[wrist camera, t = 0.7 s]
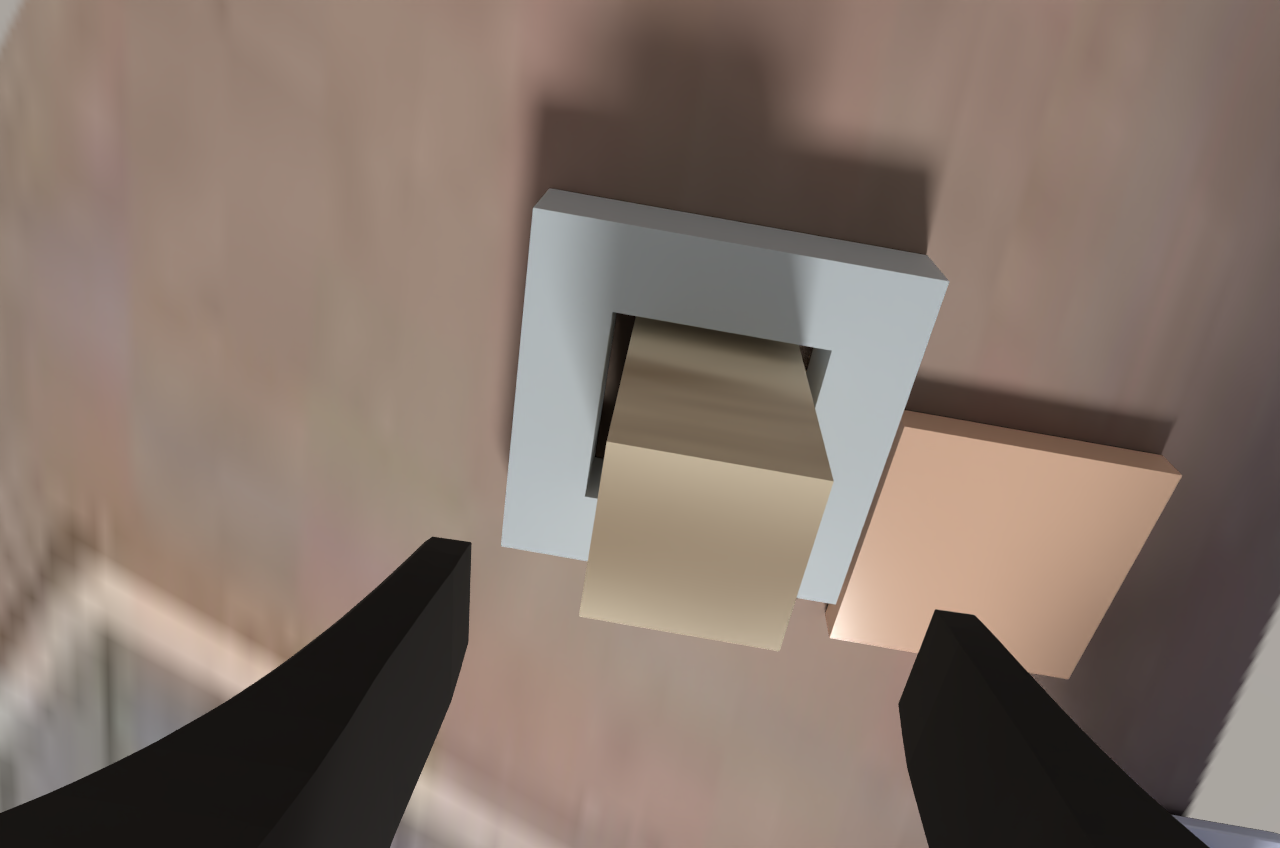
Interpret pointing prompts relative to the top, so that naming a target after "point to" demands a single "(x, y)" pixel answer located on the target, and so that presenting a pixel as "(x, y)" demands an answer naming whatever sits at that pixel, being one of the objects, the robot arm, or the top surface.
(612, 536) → the birch block
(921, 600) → the terracotta tile
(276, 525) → the top surface
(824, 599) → the board
